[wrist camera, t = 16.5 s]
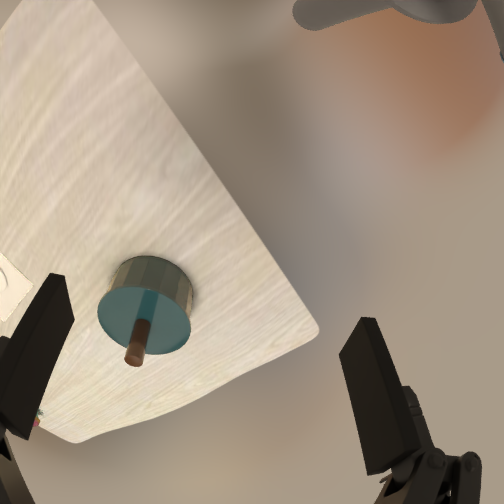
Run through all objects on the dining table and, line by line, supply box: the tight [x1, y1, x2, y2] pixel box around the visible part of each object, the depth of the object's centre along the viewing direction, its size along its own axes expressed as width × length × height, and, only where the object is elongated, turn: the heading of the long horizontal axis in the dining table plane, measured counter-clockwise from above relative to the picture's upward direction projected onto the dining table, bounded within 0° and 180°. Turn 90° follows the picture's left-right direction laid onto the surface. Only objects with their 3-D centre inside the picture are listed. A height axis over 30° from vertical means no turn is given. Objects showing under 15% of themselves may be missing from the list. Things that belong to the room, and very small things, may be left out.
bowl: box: [107, 256, 193, 318], centre depth 48 cm, size 14×14×8 cm
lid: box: [97, 284, 191, 367], centre depth 42 cm, size 15×15×8 cm
